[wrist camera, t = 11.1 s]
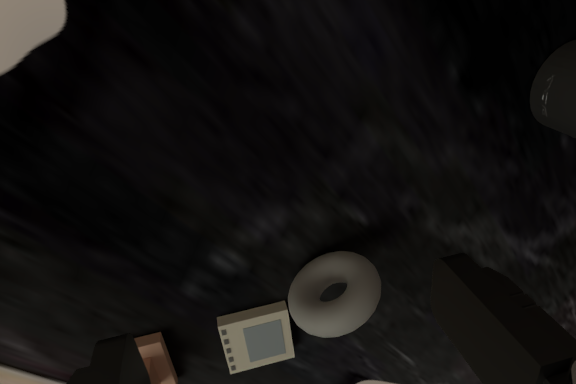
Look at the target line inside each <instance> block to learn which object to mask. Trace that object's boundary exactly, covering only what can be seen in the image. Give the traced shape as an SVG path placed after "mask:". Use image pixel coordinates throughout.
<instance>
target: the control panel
mask: <svg viewBox="0 0 576 384" xmlns="http://www.w3.org/2000/svg"><path fill="white" fill-rule="evenodd" d="M217 324H218V329H219V333H220V337H221V341H222V344H223V348H224V352H225V356H226V359H227V363H228V367H229V370H230V374H233V373H237V372H241V371H245V370H248V369H252V368H256V367H260V366H263V365H267V364H271V363H274V362H278V361H282V360H286V359H289V358H293V357H295V355H294V349H293V342H292V335H291V329H290V322H289V315H288V309H287V306H286V303H285V301H281V302H277V303H273V304H269V305H265V306H261V307H257V308H252V309H248V310H244V311H240V312H236V313H232V314H228V315H224V316H220V317H217Z"/></svg>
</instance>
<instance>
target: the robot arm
mask: <svg viewBox="0 0 576 384" xmlns="http://www.w3.org/2000/svg"><path fill="white" fill-rule="evenodd" d="M530 107H531V111H532V113H533V116H534V117H535V118H536V120H537V121H538V122H540V123H541V124H543V125H545V126H547V127H550V128H552V129H555V130H557V131H560V132H562V133H565V134H567V135H570V136H572V137H574V138H576V39H575V40H573V41H570V42H568V43H566V44H564V45H563V46H561V47H559V48H558V49H557V50H556V51H554V52H553V53H552V54H551V55H550V56H549V57H548V58H547V60H546V61H545V62H544V63H543V64H542V66H541V68H540V69H539V71H538V72H537V74H536V77H535V79H534V81H533V84H532V88H531V92H530ZM431 308H432V312H433V315H434V317H435V319H436V321H437V323H438V324H439V326H440V327H441V328H442V330H443V331H444V332H445V334H446V335H447V336H448V338H449V339H450V340H451V342H452V343H453V345H454V346H455V347H456V349H457V350H458V351H459V353H460V354H461V355H462V357H463V358H464V359H465V361H466V362H467V363H468V365H469V366H470V367H471V369H472V370H473V372H474V373H475V374H476V376H477V377H478V378H479V380H480V381H481V382H482V384H576V339H575V338H574V337H572V336H571V335H570V334H569V333H568V332H567V331H566V330H565V329H564V328H563V327H562V326H560V325H559V324H558V323H557V322H556V321H555V320H554V319H553V318H552V317H551V316H550V315H548V314H547V313H546V312H545V311H544V310H543V309H542V308H541V307H540V306H537V305H536V303H535V302H534V301H533V300H532V299H531V298H530V297H529V296H528V295H527V294H524V293H523V291H522V290H521V289H520V288H519V287H518V286H517V285H516V284H515V283H514V282H512V281H511V280H510V279H509V278H508V277H506V276H504V275H503V274H501V273H499V272H497V271H495V270H493V269H491V268H489V267H485V268H481V267H480V266H479V265H478V264H477V263H476V262H474V261H473V260H472V259H471V258H470V257H469V256H468V255H467V254H465V253H459V254H455V255H451V256H447V257H443V258H439V259H436V260H435V261H434V265H433V276H432V289H431ZM67 384H151V382H150V377H149V374H148V371H147V369H146V366H145V364H144V361H143V359H142V357H141V354H140V352H139V349H138V347H137V345H136V342H135V340H134V337H133V336H132V334H130V333H128V334H124V335H120V336H116V337H112V338H108V339H104V340H100V341H97V343H96V344H95V347H94V351H93V355H92V359H91V364H90V366H89V367H85V368H81V369H77V370H76V371H75V372H74V374H73V375H72V376H71V378H70V379H69V381H68V382H67Z"/></svg>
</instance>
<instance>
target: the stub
mask: <svg viewBox="0 0 576 384" xmlns="http://www.w3.org/2000/svg"><path fill="white" fill-rule="evenodd" d="M134 340H135V342H136V345H137V347H138V349H139V352H140V354H141V357H142V359H143V361H144V364H145V366H146V369H147V371H148V374H149V377H150V382H151V384H178V378H177V375H176V372H175V369H174V367H173V364H172V361H171V358H170V356H169V353H168V350H167V347H166V345H165V342H164V339H163V337H162V334H161V332H158V333H154V334H150V335H146V336H142V337H138V338H134Z"/></svg>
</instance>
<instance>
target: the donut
mask: <svg viewBox="0 0 576 384" xmlns="http://www.w3.org/2000/svg"><path fill="white" fill-rule="evenodd" d="M338 282H344V283H347V288H346V290H345V292H344V293H343V294H342V295H341V296H340V297H338V298H337V299H335V300H332V301H329V302H322V301H320V296H321V294H322V292H323V291H324V290H325V289H326V288H327V287H328V286H330V285H332V284H334V283H338ZM380 296H381V281H380V277H379V275H378V272H377V270H376V268H375V267H374V265H373V264H372V263H371V262H370V261H369V260H368V259H366V258H365V257H363V256H361V255H358V254H356V253H354V252H347V251H337V252H331V253H326V254H324V255H322V256H319V257H317V258H315V259H314V260H312V261H311V262H309V263H308V264H306V265H305V266H304V267H303V268H302V270H301V271H300V272H299V273H298V274H297V275H296V277H295V279H294V281H293V282H292V284H291V286H290V291H289V295H288V305H289V312H290V314H291V316H292V318H293V319H294V321H295V323H296V325H298V326H299V327H300V328H301V329H303V330H304V331H306V332H307V333H308V334H311V335H315V336H319V337H323V338H327V337H339V336H342V335H344V334H347V333H350V332H352V331H354V330H355V329H357V328H358V327H360V326H361V325H362V324H364V323H365V322H366V321H367V320H368V319H369V317H370V316H371V315H372V314H373V312H374V311H375V309H376V307H377V304H378V301H379V299H380Z"/></svg>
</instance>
